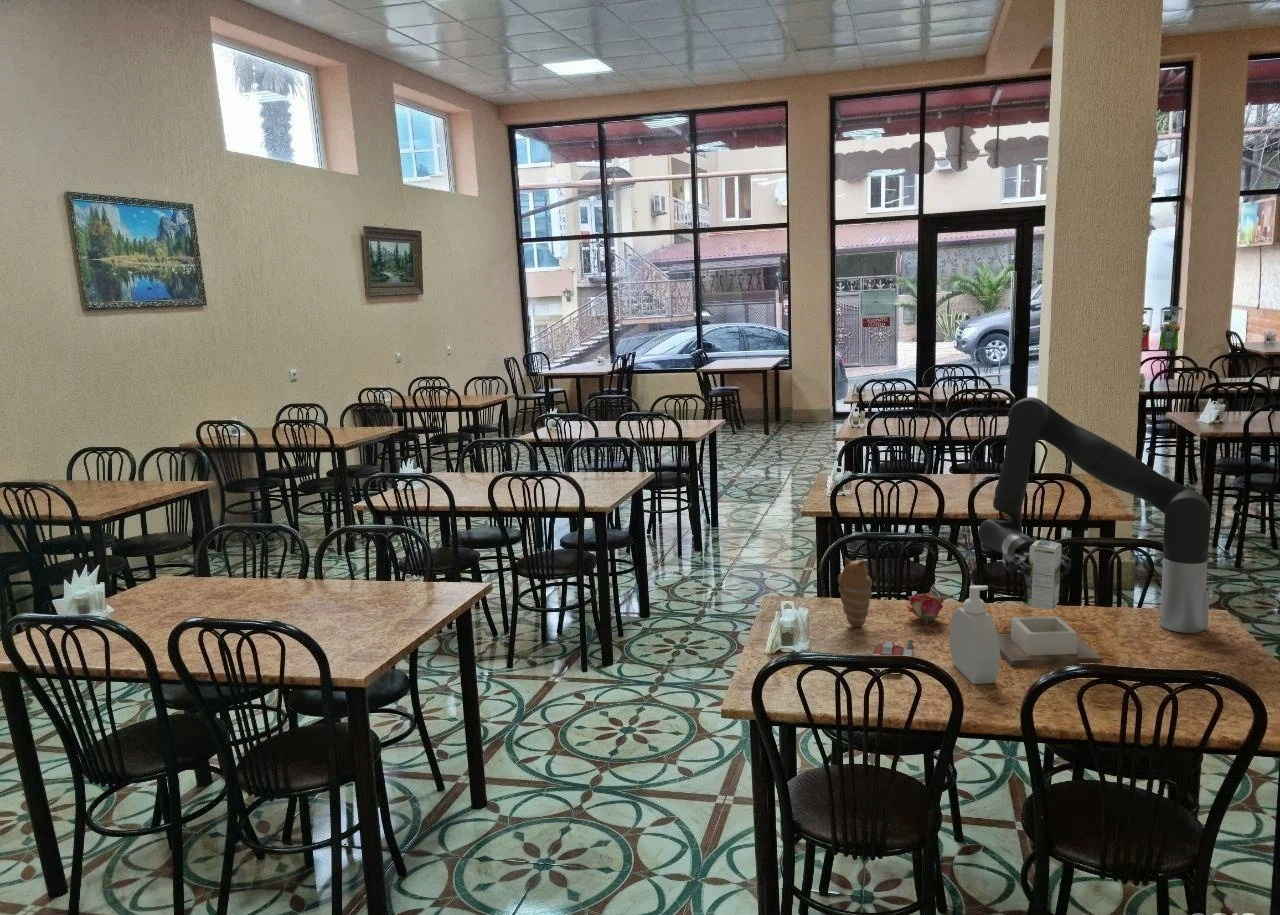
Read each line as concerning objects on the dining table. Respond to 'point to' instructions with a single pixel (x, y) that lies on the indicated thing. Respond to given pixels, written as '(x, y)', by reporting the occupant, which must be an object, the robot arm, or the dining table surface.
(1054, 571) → the syrup box
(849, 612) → the cat ice cream
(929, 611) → the flower
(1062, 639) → the white open square box
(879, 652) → the walkie-talkie
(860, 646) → the dining table surface
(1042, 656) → the walnut stand
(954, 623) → the soap bottle
